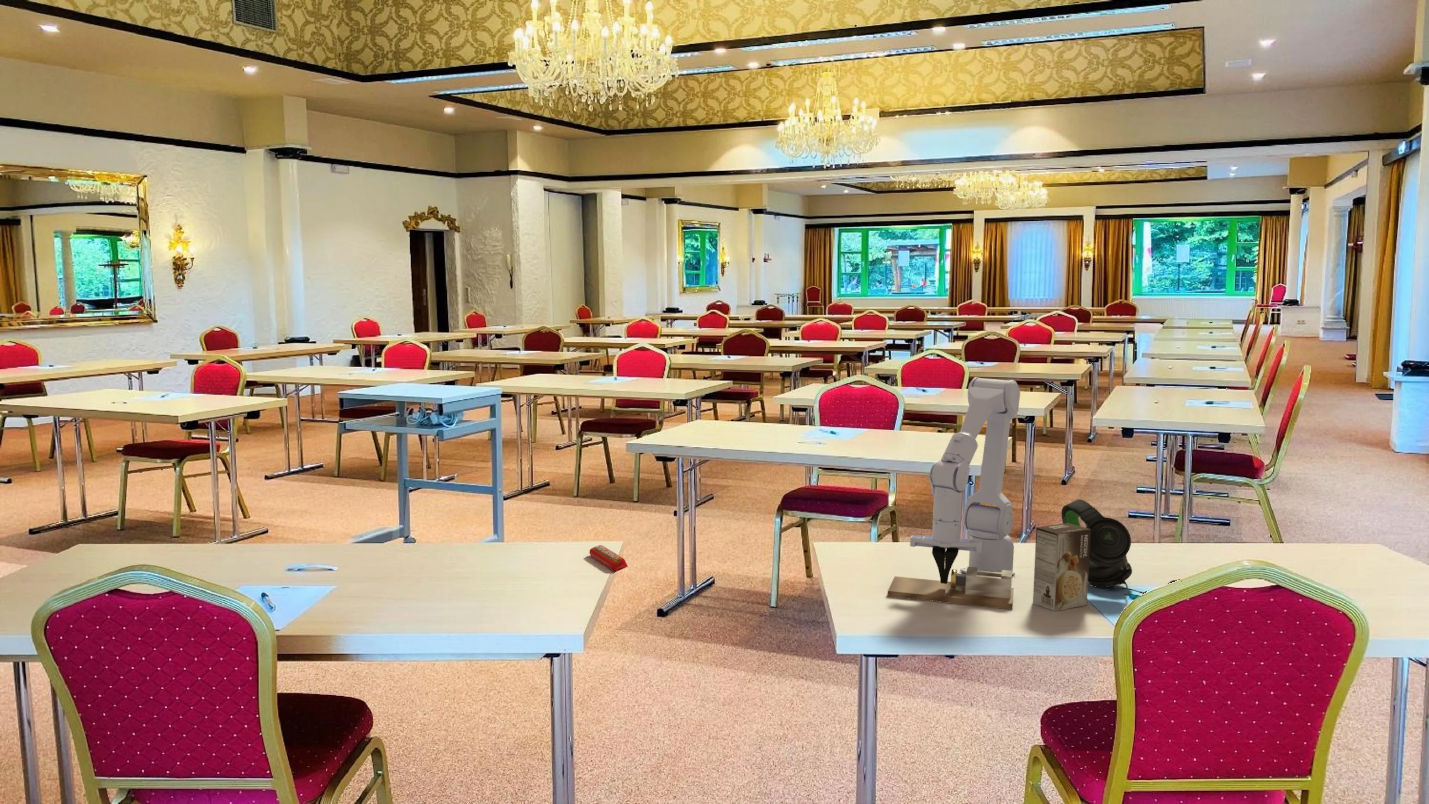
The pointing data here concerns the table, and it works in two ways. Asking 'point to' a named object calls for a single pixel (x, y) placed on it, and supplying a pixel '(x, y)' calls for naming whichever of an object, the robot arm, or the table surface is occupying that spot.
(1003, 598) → the board
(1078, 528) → the coffee box
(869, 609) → the table surface
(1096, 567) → the headset
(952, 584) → the shaft
